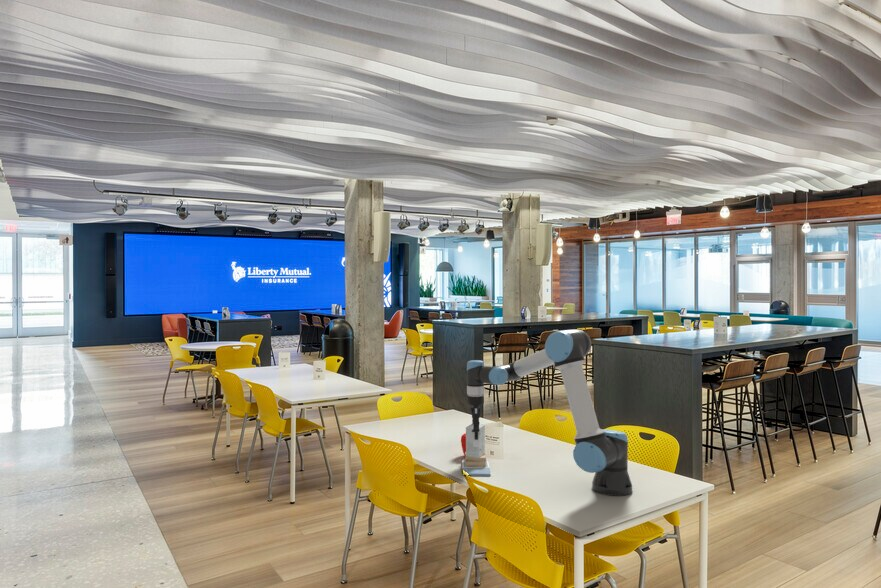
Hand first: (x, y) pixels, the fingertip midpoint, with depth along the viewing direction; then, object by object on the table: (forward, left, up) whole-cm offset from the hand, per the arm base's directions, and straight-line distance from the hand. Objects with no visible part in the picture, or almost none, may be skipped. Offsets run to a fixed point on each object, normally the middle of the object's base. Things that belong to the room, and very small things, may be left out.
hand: (475, 442), depth 260 cm
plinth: (0, 0, -9) cm, 9 cm away
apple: (+16, +2, -11) cm, 19 cm away
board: (-4, 0, -10) cm, 11 cm away
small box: (0, 0, -6) cm, 6 cm away
